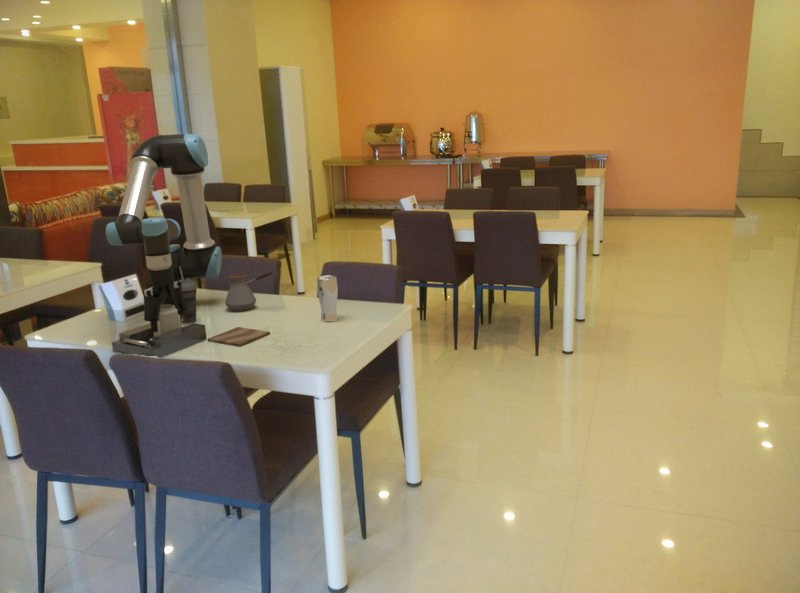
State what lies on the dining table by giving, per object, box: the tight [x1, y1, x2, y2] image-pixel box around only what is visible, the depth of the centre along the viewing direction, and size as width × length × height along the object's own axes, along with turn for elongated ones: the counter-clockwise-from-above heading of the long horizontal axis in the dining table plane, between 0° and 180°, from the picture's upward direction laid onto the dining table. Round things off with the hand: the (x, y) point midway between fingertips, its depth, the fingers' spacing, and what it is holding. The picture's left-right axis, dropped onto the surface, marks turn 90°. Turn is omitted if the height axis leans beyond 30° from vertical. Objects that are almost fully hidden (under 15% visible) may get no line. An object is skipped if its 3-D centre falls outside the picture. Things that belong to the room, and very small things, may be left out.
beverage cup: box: [178, 267, 198, 324], centre depth 243 cm, size 7×7×20 cm
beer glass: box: [316, 274, 339, 322], centre depth 240 cm, size 7×7×15 cm
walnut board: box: [207, 326, 271, 348], centre depth 225 cm, size 14×14×1 cm
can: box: [158, 304, 180, 334], centre depth 222 cm, size 8×8×12 cm
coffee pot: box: [224, 269, 278, 312], centre depth 257 cm, size 21×12×15 cm, turn 76°
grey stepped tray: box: [111, 322, 208, 358], centre depth 220 cm, size 19×21×5 cm
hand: (168, 337), depth 223 cm, fingers closed on can, 7 cm apart
